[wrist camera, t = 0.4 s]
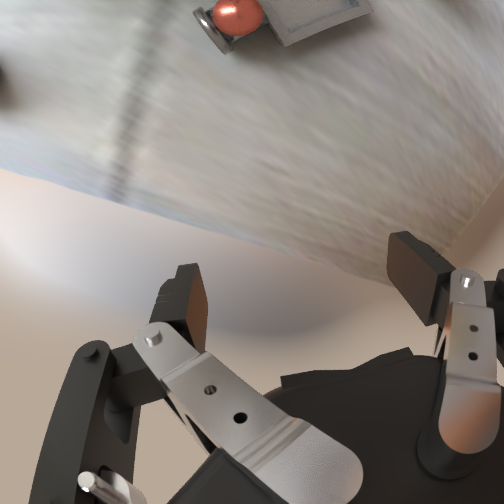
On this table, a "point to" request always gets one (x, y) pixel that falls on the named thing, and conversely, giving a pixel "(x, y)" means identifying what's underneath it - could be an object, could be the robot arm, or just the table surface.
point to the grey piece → (275, 18)
